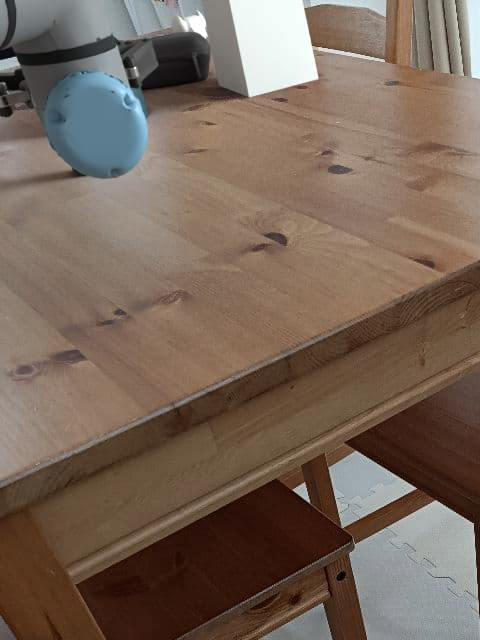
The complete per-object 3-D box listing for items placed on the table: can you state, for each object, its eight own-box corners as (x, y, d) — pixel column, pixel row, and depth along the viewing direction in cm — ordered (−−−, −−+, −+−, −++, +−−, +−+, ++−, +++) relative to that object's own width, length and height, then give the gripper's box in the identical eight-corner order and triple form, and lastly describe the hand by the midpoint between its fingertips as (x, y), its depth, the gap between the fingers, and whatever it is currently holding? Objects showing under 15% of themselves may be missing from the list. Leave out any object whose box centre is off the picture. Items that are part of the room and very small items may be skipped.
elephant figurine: (193, 55, 142) (184, 17, 138) (166, 54, 146) (156, 16, 142) (221, 46, 145) (213, 8, 141) (194, 45, 149) (185, 8, 145)
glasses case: (217, 62, 130) (204, 13, 124) (219, 101, 126) (206, 53, 119) (110, 76, 130) (91, 28, 123) (108, 116, 125) (88, 69, 118)
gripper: (-48, 173, 70) (-52, 124, 85) (218, 111, 76) (171, 76, 91) (-93, 79, 65) (-89, 44, 80) (196, 20, 71) (150, -2, 86)
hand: (49, 61), depth 85 cm, fingers open, 13 cm apart
